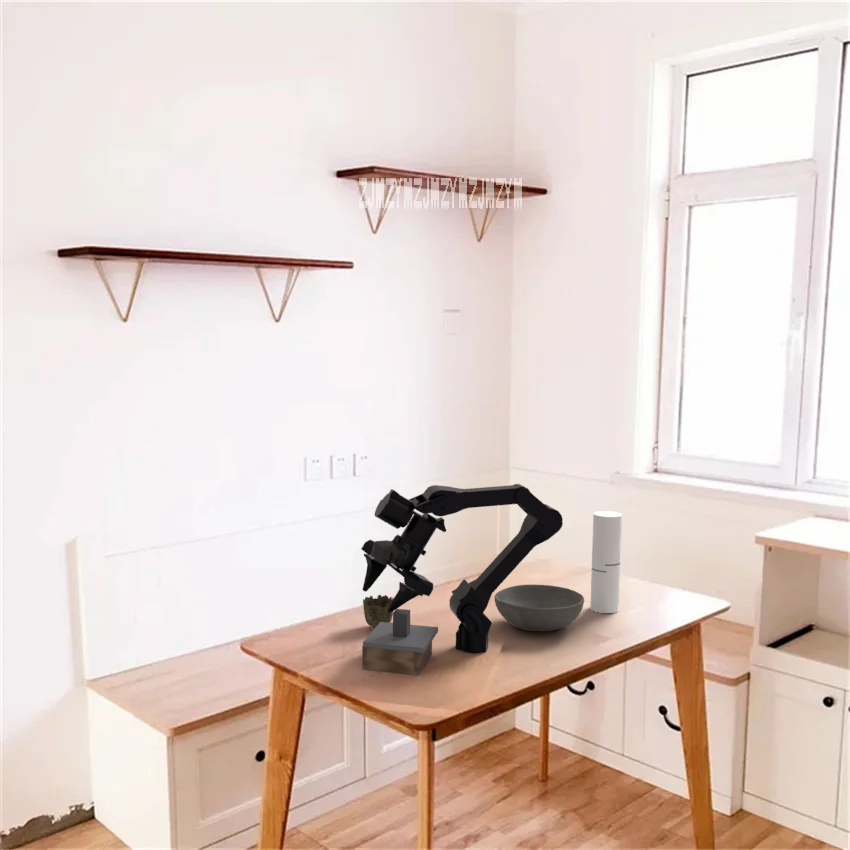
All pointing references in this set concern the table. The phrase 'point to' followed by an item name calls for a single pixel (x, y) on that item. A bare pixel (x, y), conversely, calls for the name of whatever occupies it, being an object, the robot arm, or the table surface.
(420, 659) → the walnut box
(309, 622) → the table surface
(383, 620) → the cup
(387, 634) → the lid
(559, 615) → the bowl
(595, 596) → the cylindrical container
